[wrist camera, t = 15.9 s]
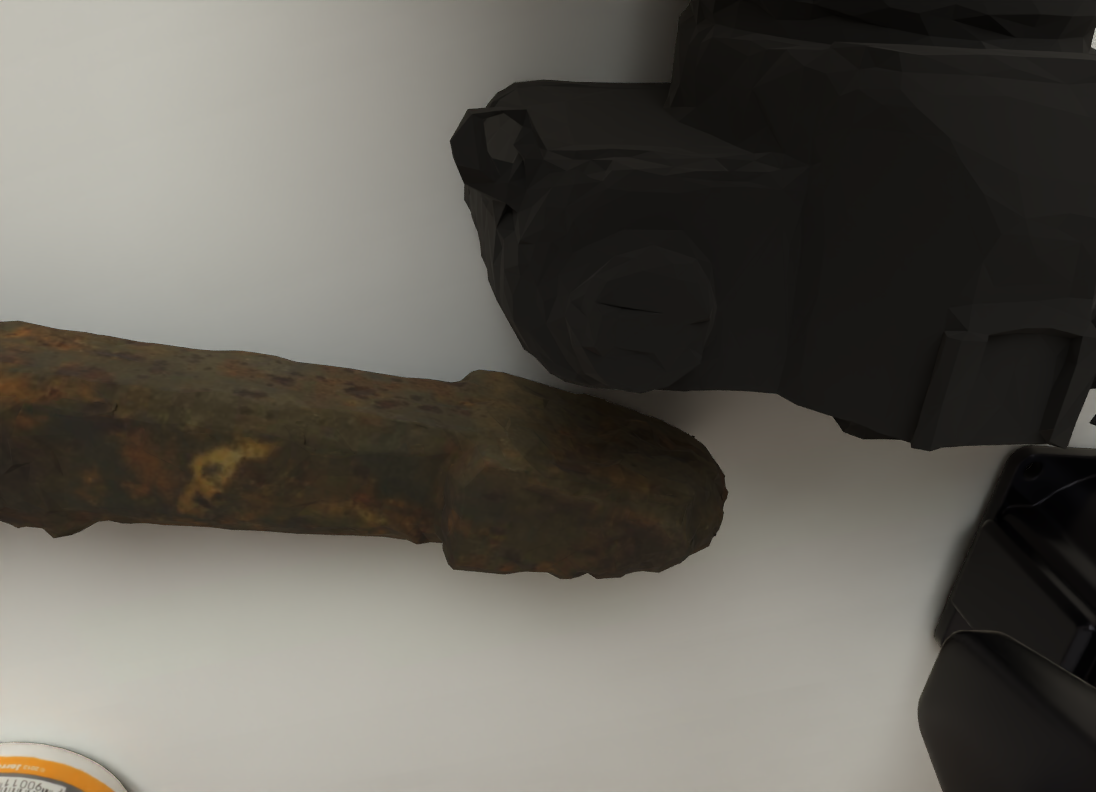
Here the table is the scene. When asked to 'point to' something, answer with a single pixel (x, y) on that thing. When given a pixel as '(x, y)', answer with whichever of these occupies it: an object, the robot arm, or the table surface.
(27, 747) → the pill bottle
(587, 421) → the hand tool
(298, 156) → the table surface
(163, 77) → the table surface
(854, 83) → the film camera
